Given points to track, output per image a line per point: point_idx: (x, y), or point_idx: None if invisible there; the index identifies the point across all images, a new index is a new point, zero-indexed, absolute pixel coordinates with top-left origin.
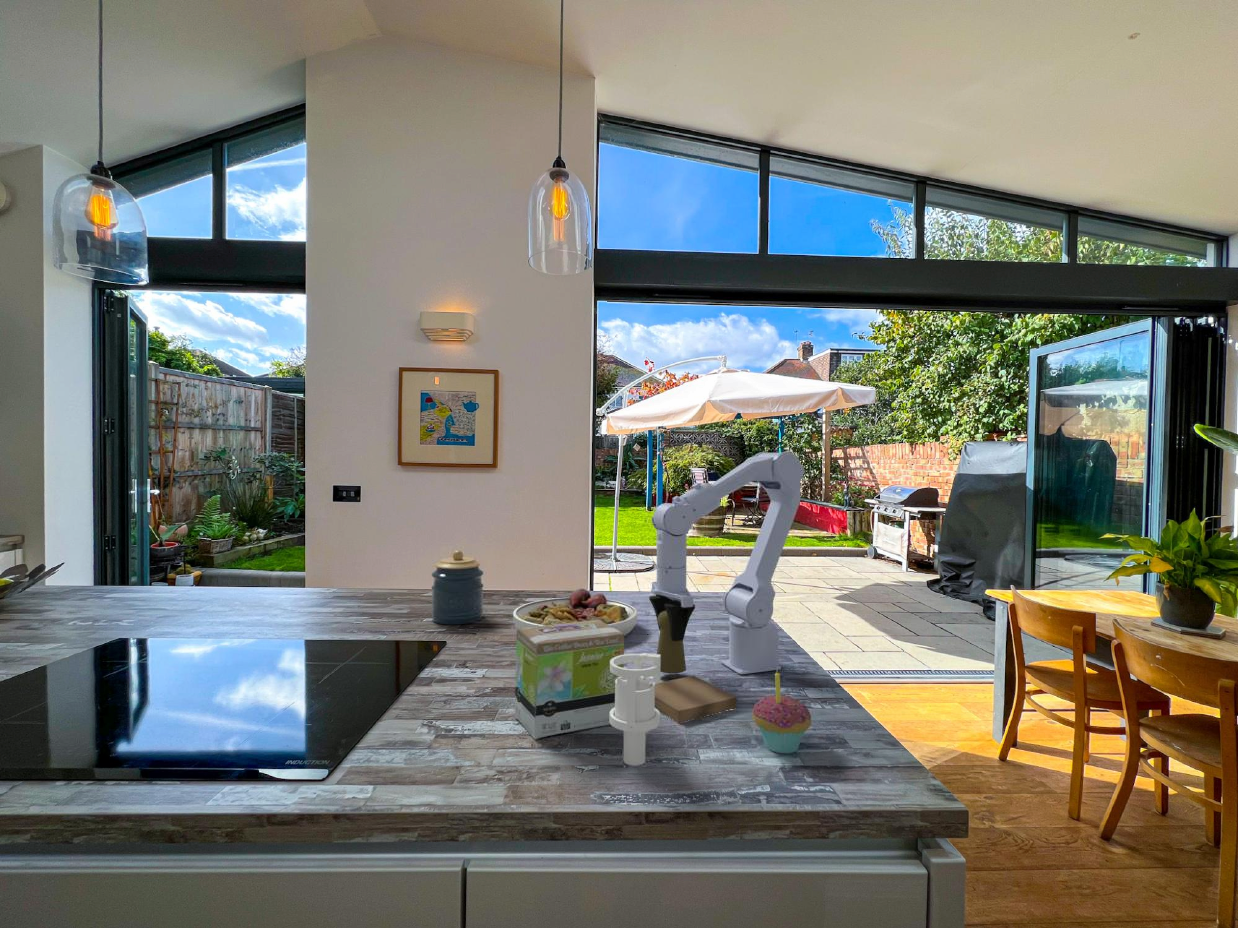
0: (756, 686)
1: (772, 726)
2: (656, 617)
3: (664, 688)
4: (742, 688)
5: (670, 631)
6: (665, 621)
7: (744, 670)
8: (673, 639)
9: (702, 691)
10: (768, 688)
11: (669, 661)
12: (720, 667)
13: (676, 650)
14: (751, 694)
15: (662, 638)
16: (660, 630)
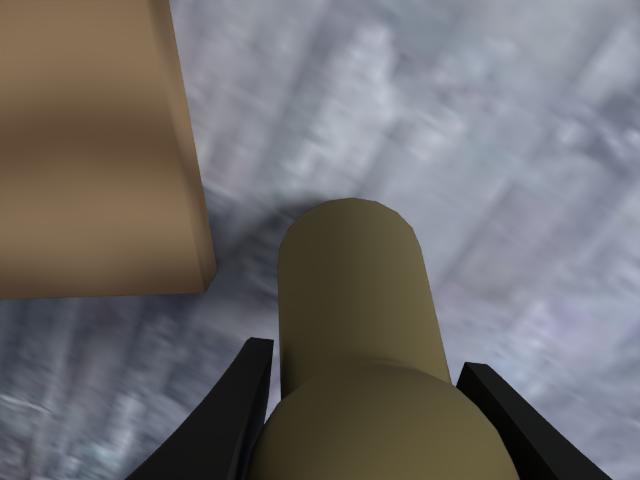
0: (149, 423)
1: None
2: (582, 454)
3: (82, 84)
4: (145, 386)
5: (259, 377)
6: (299, 434)
7: None
8: (244, 344)
9: (13, 224)
10: (124, 438)
11: (291, 254)
12: None
13: (279, 321)
14: (89, 379)
15: (349, 308)
16: (404, 350)
